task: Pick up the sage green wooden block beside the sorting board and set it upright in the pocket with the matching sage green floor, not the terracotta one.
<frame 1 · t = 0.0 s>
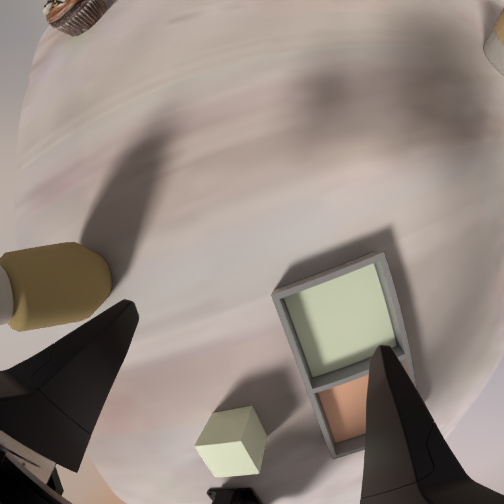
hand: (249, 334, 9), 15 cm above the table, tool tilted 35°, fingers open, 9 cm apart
sorting board: (355, 363, 23), on the table
sage block: (240, 425, 25), on the table
cupcake: (88, 20, 28), on the table
coffee cup: (497, 60, 18), on the table
squeeze bottle: (94, 277, 27), on the table
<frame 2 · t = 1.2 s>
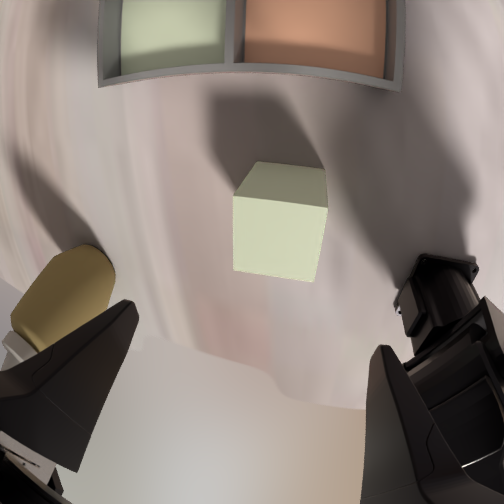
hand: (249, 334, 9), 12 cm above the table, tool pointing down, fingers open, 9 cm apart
sorting board: (242, 7, 12), on the table
sage block: (288, 195, 19), on the table
squeeze bottle: (97, 264, 28), on the table
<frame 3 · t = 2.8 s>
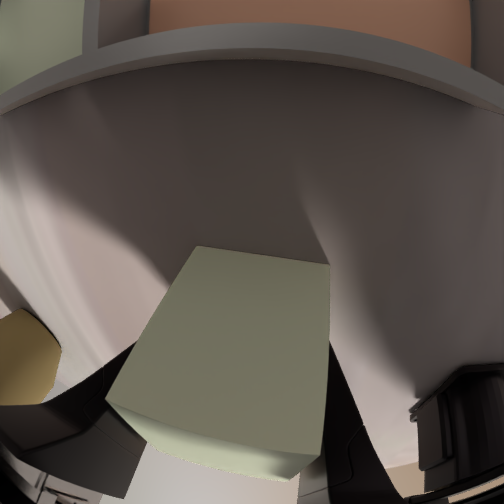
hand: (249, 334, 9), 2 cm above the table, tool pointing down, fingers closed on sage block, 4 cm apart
sage block: (258, 303, 10), on the table, touching gripper
squeeze bottle: (41, 329, 19), on the table
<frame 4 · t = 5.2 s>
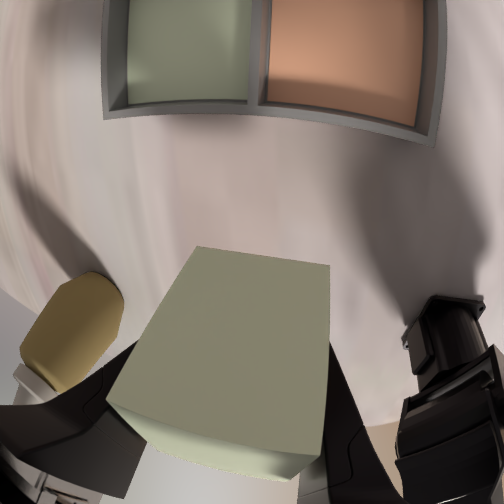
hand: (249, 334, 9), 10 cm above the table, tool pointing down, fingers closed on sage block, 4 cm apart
sorting board: (265, 33, 12), on the table
sage block: (258, 303, 10), point 9 cm above the table, touching gripper
squeeze bottle: (104, 290, 28), on the table
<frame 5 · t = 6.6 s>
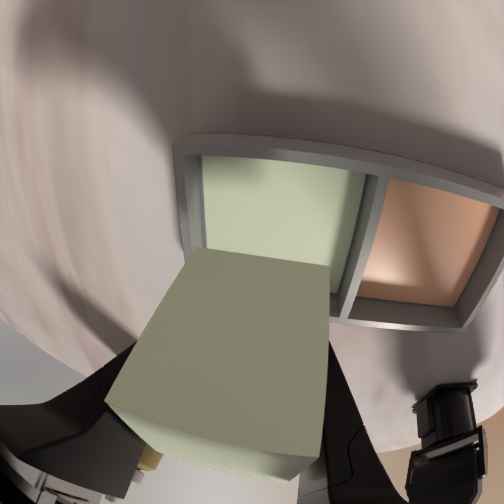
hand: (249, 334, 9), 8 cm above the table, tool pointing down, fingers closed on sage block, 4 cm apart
sorting board: (357, 233, 15), on the table
sage block: (258, 304, 10), point 6 cm above the table, touching gripper
squeeze bottle: (164, 376, 31), on the table
when the fingers open (4 cm above the table, at t = 7.6 s): sage block drops 2 cm, resting on sorting board.
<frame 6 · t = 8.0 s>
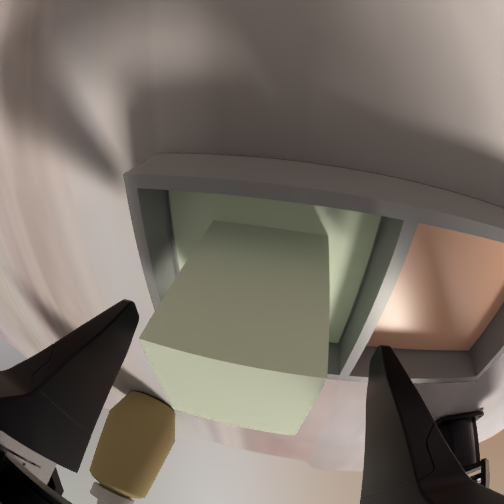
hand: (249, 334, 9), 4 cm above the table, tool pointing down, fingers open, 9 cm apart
sorting board: (367, 278, 12), on the table
sage block: (266, 273, 12), point 1 cm above the table, touching sorting board
squeeze bottle: (153, 401, 28), on the table
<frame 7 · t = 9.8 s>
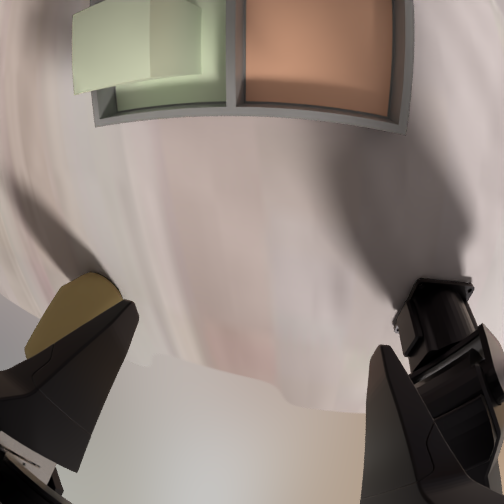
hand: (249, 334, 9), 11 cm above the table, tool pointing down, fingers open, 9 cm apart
sorting board: (241, 37, 13), on the table
sage block: (166, 45, 13), point 1 cm above the table, touching sorting board
squeeze bottle: (104, 290, 29), on the table
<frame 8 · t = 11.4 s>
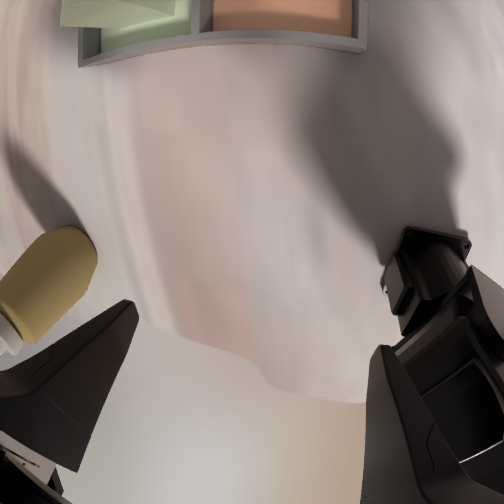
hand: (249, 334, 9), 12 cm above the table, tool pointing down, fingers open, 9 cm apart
squeeze bottle: (80, 246, 27), on the table
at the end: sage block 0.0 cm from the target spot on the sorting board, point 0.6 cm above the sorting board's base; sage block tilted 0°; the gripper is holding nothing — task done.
